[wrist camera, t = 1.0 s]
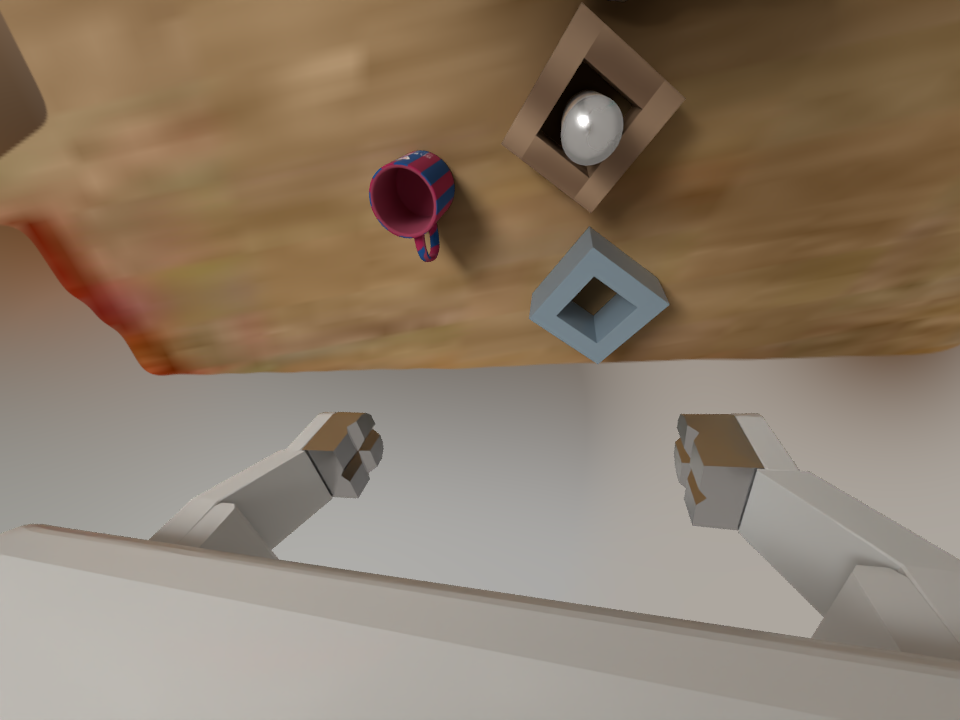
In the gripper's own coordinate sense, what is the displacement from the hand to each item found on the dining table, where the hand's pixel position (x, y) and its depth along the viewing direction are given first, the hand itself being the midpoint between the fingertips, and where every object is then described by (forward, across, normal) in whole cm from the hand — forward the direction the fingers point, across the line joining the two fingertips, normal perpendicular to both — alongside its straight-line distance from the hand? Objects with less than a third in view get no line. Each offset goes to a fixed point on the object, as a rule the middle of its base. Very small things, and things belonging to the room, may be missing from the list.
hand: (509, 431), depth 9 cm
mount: (+33, -3, -8) cm, 34 cm away
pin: (+33, -3, -8) cm, 34 cm away
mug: (+34, +14, -3) cm, 37 cm away
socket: (+35, -3, +9) cm, 36 cm away
